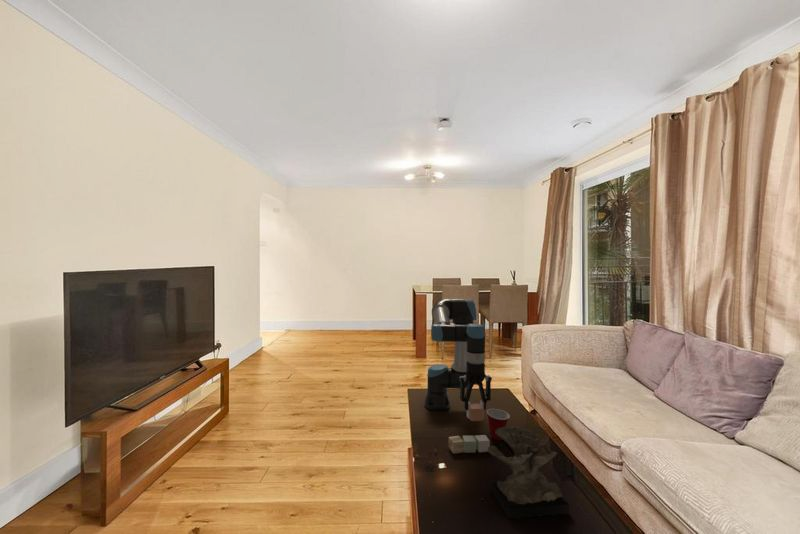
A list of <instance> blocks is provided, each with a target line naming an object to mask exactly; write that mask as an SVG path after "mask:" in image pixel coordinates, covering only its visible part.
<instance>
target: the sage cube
mask: <svg viewBox="0 0 800 534" xmlns="http://www.w3.org/2000/svg"><path fill="white" fill-rule="evenodd" d="M462 440H463V441H464V452H463V453H465V454H466V453H471V454H472V453H474V454H475V453H476V452H477V449H476V441H475V435H462Z"/></svg>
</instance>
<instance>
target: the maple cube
mask: <svg viewBox="0 0 800 534" xmlns="http://www.w3.org/2000/svg"><path fill="white" fill-rule="evenodd" d="M448 449H449V450H450V451H451V453H452V454H453V455H455V454H459V453H460V454H461V453H465V452H464V441H463V438H461V436H460V435H453V436H448Z"/></svg>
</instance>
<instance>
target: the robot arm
mask: <svg viewBox="0 0 800 534" xmlns="http://www.w3.org/2000/svg"><path fill="white" fill-rule="evenodd" d="M431 316H432V318H433V321H434V323H433V324H431V327H430V329H431V330H430V331H431V332H430V335H431V338H430V339H431V341H433V342H438V343H440V342H449V343H450V342H452V343H454V353H453V363H452V364H451V366H450V367H448V366H447V365H446V364H443V363H440V364H433V365H431V366H429V367H428V368H427V374H426V377H427V384H426V385H427V388H426V389H427V391H426V395H425V398H424V402H423V403H424V405H423V406H424V407H425V409H428V410H431V411H435V412H442V410H443V411H446V410H448V409H450V408H449V407H451V401H450V397H449V395H448V389H449V390H451V389H452V390H459V399H460V401H461V402H463V403H464V405H463V406H464V410H465V411H466V418H467V419H468V420H470V404H471V402H470V397H471V394H472V390H473V388H474V386H475V385H477V386H478V389H479V393H480V398H481V400H479V404H480V406H481V407H482V408H483V419H484V418H485V417H484V416H485V415H484V414H485V413H484V411H485V410H487V403H488V401H491V396H492V395H491V393H492V392H491V390H492V389H491V384H492V380H493V378H492V376H491V375H489V374H488V375H487V374H486V373H485V372H486V363H485V361H486V335H487V334H486V327H485V325H484V324H480V323H474V321H476V320H477V316H478V315H477V309H476V303H475V301H474V300H473V299H467V298H444V299H441V300H439V301H437V302H436V303H434V304H433V306H432V307H431ZM451 321H452V324H451ZM484 380H485V390H484V384H483V381H484Z"/></svg>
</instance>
